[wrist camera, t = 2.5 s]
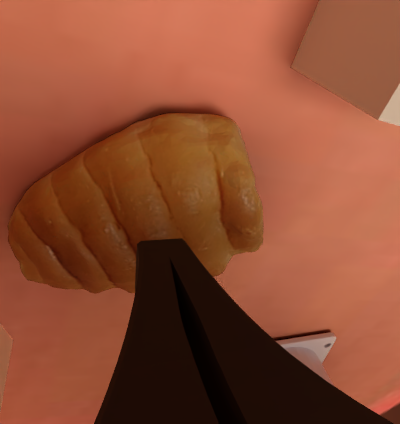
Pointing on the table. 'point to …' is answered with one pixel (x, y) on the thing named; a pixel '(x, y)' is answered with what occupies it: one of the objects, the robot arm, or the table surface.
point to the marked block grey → (355, 54)
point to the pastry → (140, 203)
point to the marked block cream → (4, 358)
